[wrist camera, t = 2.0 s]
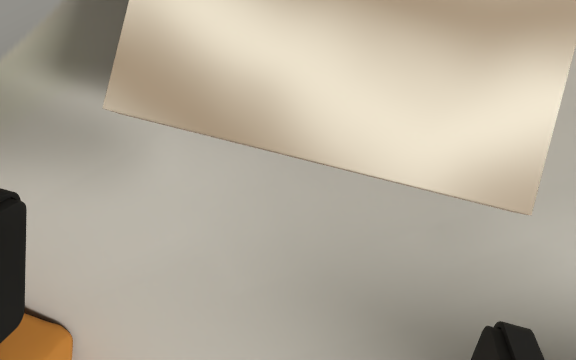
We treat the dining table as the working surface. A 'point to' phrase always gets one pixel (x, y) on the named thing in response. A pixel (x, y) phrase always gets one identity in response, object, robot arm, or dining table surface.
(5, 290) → the robot arm
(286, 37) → the ash plank
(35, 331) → the coffee package
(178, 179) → the dining table surface
